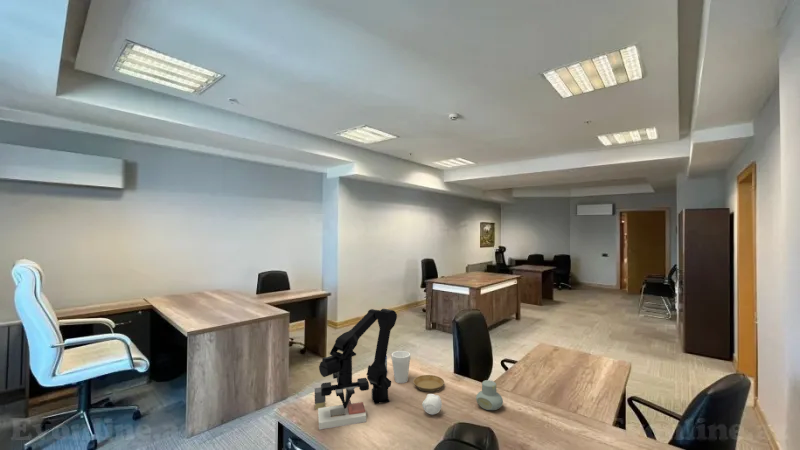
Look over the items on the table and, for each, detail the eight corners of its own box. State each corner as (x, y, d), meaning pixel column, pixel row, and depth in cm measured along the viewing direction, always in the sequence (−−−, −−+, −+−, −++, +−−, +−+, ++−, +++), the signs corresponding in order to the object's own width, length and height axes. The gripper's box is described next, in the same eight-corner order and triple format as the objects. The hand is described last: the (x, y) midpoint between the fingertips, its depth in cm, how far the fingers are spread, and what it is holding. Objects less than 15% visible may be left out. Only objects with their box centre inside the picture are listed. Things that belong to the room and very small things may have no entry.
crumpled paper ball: (431, 406, 142) (431, 387, 142) (445, 413, 137) (445, 393, 137) (418, 413, 137) (418, 394, 137) (433, 420, 131) (432, 401, 131)
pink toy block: (362, 403, 140) (362, 397, 140) (365, 411, 133) (365, 404, 133) (347, 406, 138) (347, 399, 138) (349, 414, 132) (349, 407, 132)
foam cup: (396, 386, 161) (396, 359, 162) (388, 378, 169) (388, 352, 170) (414, 381, 166) (413, 355, 166) (405, 375, 174) (404, 349, 174)
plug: (325, 403, 146) (324, 386, 146) (325, 408, 142) (325, 391, 142) (314, 404, 145) (314, 388, 145) (314, 409, 141) (314, 392, 141)
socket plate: (361, 407, 142) (361, 401, 142) (366, 421, 131) (366, 415, 131) (318, 414, 137) (318, 408, 137) (318, 429, 126) (318, 422, 126)
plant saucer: (423, 377, 171) (423, 372, 171) (449, 384, 163) (449, 379, 163) (407, 388, 159) (407, 383, 159) (434, 397, 151) (434, 391, 151)
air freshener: (506, 407, 141) (505, 383, 141) (496, 415, 135) (496, 390, 135) (482, 399, 148) (482, 376, 148) (473, 406, 142) (472, 382, 142)
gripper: (364, 359, 145) (364, 395, 145) (320, 363, 140) (320, 401, 140) (369, 369, 134) (369, 408, 134) (321, 374, 129) (321, 415, 129)
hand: (345, 408), depth 134 cm, fingers closed
